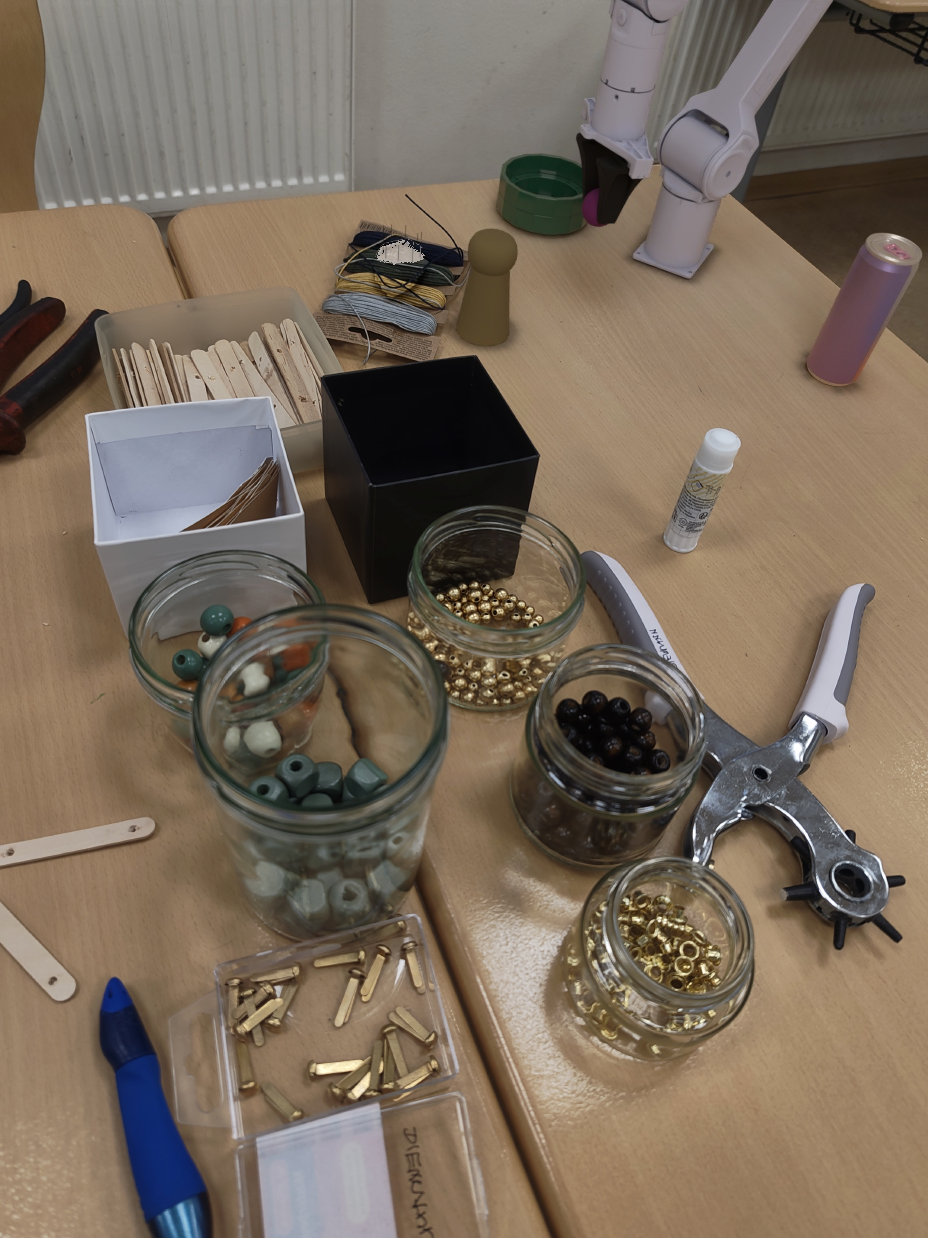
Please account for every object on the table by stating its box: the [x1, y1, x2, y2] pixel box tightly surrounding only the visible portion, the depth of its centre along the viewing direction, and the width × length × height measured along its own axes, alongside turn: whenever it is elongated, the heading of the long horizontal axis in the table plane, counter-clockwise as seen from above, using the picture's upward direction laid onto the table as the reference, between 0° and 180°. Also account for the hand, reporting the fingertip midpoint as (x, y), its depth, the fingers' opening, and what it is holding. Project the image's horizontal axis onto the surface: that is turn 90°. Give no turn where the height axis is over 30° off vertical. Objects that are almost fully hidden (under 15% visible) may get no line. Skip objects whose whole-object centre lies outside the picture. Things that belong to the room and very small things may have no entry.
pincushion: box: [376, 224, 425, 265], centre depth 100 cm, size 12×6×6 cm, turn 172°
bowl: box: [495, 152, 588, 236], centre depth 112 cm, size 12×12×5 cm
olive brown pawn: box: [455, 227, 519, 347], centre depth 92 cm, size 6×6×11 cm
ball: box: [582, 188, 608, 228], centre depth 98 cm, size 4×4×4 cm
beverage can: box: [806, 232, 923, 387], centre depth 92 cm, size 6×6×15 cm
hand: (598, 212), depth 99 cm, fingers closed on ball, 4 cm apart
